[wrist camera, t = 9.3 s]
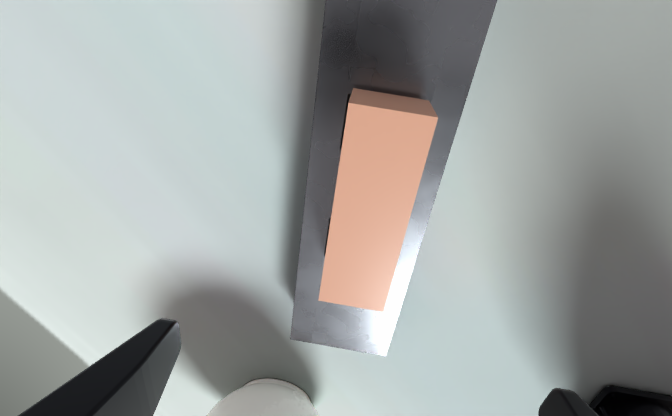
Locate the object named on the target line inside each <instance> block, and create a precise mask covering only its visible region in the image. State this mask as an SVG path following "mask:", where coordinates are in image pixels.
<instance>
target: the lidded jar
mask: <svg viewBox="0 0 672 416" xmlns="http://www.w3.org/2000/svg"><path fill="white" fill-rule="evenodd" d="M206 416H320V415H319V414H318V412H317V411H316V409H315V408H314V406H313V405H312V404H311V401H310V398H309V397H308V395H307V394H306V393H305V392H304V391H303V390H302V389H300V388H299V387H297V386H296V385H293V384H291V383H289V382H286V381H283V380H279V379H272V378H262V379H256V380H253V381H250V382H248V383H247V384H245V385H244V386H243V387H242V388H239V389H237V390H235V391H233V392H232V393H230V394H228V395H227V396H226V397H224V398H223V399H222V400H220V401H219V402H218V403H217V404H216V405H215V406H214V407H213V408H212V409H211V410H210V412H209V413H208V414H207V415H206Z"/></svg>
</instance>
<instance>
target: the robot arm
mask: <svg viewBox="0 0 672 416" xmlns="http://www.w3.org/2000/svg"><path fill="white" fill-rule="evenodd" d="M180 348H181V338H180V330H179V324H178V322H177V321H175V320H170V319H164V318H162V319H158V320H157V321H155V322H154V323H152V324H151V325H149V326H148V327H146V328H145V329H143V330H142V331H141V332H139V333H138V334H136V335H135V336H133V337H132V338H130V339H129V340H127V341H126V342H125V343H123V344H122V345H120V346H119V347H117V348H116V349H114V350H113V351H111V352H110V353H108V354H107V355H106V356H104V357H103V358H101V359H100V360H98V361H97V362H95V363H94V364H92V365H91V366H90V367H88V368H87V369H85V370H84V371H82V372H81V373H79V374H78V375H76V376H75V377H74V378H72V379H71V380H69V381H68V382H66V383H65V384H64V385H62V386H61V387H59V388H57V389H56V390H55V391H53V392H52V393H50V394H49V395H47V396H46V397H44V398H43V399H41V400H40V401H39V402H37V403H36V404H34V405H33V406H31V407H30V408H29V409H27V410H26V411H24V412H23V413H21V414H20V415H18V416H153V414H154V412H155V410H156V407H157V405H158V403H159V400H160V398H161V395H162V393H163V391H164V388H165V386H166V383H167V381H168V379H169V376H170V374H171V371H172V369H173V367H174V364H175V362H176V360H177V357H178V355H179V352H180ZM539 416H672V397H671V396H665V395H660V394H654V393H649V392H643V391H637V390H632V389H626V388H620V387H615V386H609V387H606V388H604V389H603V390H602V391H601V393H600V394H599V395H598V396H597V397H596V399H595V400H594V401H593V402H592V403H591V405H590V406H588V405H587V404H586V403H585V401H584V400H583V399H582V398H581V397H580V396H579V395H577V394H576V393H575V392H573V391H571V390H566V389H561V388H554V389H553V390H552V391H551V392H550V393H549V395H548V396H547V397H546V399H545V400H544V402H543V403H542V404H541V406H540V408H539Z"/></svg>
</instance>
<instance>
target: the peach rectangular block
mask: <svg viewBox="0 0 672 416" xmlns="http://www.w3.org/2000/svg"><path fill="white" fill-rule="evenodd" d="M437 120H438V116H437V114H436V112H435V111H434V109H433V107H432V105H431V103H430V101H429V100H424V99H417V98H411V97H405V96H399V95H393V94H387V93H381V92H375V91H369V90H362V89H356V88H353V90H352V93H351V96H350V100H349V103H348V109H347V116H346V123H345V129H344V136H343V142H342V149H341V155H340V162H339V168H338V175H337V182H336V188H335V195H334V201H333V208H332V214H331V221H330V227H329V234H328V241H327V247H326V254H325V260H324V267H323V273H322V280H321V286H320V293H319V299H318V301H324V302H329V303H335V304H340V305H346V306H352V307H357V308H363V309H369V310H374V311H380V312H383V311H384V308H385V304H386V301H387V297H388V294H389V290H390V287H391V283H392V279H393V276H394V272H395V269H396V265H397V262H398V258H399V255H400V251H401V248H402V244H403V241H404V237H405V234H406V230H407V226H408V223H409V219H410V216H411V212H412V209H413V205H414V202H415V198H416V195H417V191H418V188H419V184H420V180H421V177H422V173H423V170H424V166H425V163H426V159H427V156H428V152H429V149H430V145H431V142H432V138H433V134H434V131H435V127H436V124H437Z"/></svg>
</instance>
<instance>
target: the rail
mask: <svg viewBox="0 0 672 416" xmlns="http://www.w3.org/2000/svg"><path fill="white" fill-rule="evenodd" d="M496 2H497V0H326V3H325V13H324V23H323V32H322V42H321V51H320V61H319V70H318V80H317V89H316V99H315V108H314V118H313V127H312V137H311V146H310V156H309V165H308V175H307V184H306V194H305V203H304V213H303V222H302V232H301V242H300V251H299V261H298V270H297V280H296V289H295V299H294V308H293V318H292V327H291V337H290V339H292V340H298V341H303V342H309V343H315V344H320V345H326V346H331V347H337V348H343V349H348V350H354V351H359V352H365V353H370V354H376V355H382V356H386V354H387V351H388V348H389V345H390V341H391V338H392V335H393V332H394V329H395V325H396V322H397V319H398V316H399V313H400V309H401V306H402V303H403V300H404V297H405V293H406V290H407V287H408V284H409V281H410V277H411V274H412V271H413V268H414V265H415V261H416V258H417V255H418V252H419V249H420V245H421V242H422V239H423V236H424V233H425V229H426V226H427V223H428V220H429V217H430V213H431V210H432V207H433V204H434V201H435V197H436V194H437V191H438V188H439V185H440V181H441V178H442V175H443V172H444V169H445V165H446V162H447V159H448V156H449V153H450V149H451V146H452V143H453V140H454V137H455V133H456V130H457V127H458V124H459V121H460V117H461V114H462V111H463V108H464V105H465V101H466V98H467V95H468V92H469V89H470V85H471V82H472V79H473V76H474V73H475V69H476V66H477V63H478V60H479V57H480V53H481V50H482V47H483V44H484V41H485V37H486V34H487V31H488V28H489V25H490V21H491V18H492V15H493V12H494V9H495V5H496ZM353 88H356V89H362V90H369V91H375V92H381V93H387V94H393V95H399V96H405V97H411V98H417V99H424V100H429V101H430V103H431V105H432V107H433V109H434V111H435V112H436V114H437V116H438V120H437V124H436V127H435V131H434V134H433V138H432V142H431V145H430V149H429V152H428V156H427V159H426V163H425V166H424V170H423V173H422V177H421V180H420V184H419V188H418V191H417V195H416V198H415V202H414V205H413V209H412V212H411V216H410V219H409V223H408V226H407V230H406V234H405V237H404V241H403V244H402V248H401V251H400V255H399V258H398V262H397V265H396V269H395V272H394V276H393V279H392V283H391V287H390V290H389V294H388V297H387V301H386V304H385V308H384V311H383V312H380V311H374V310H369V309H363V308H357V307H352V306H346V305H340V304H335V303H329V302H324V301H318V299H319V293H320V286H321V280H322V273H323V267H324V260H325V254H326V247H327V241H328V234H329V227H330V221H331V214H332V208H333V201H334V195H335V188H336V182H337V175H338V168H339V162H340V155H341V149H342V142H343V136H344V129H345V123H346V116H347V109H348V103H349V98H350V94H351V93H352V90H353Z"/></svg>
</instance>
